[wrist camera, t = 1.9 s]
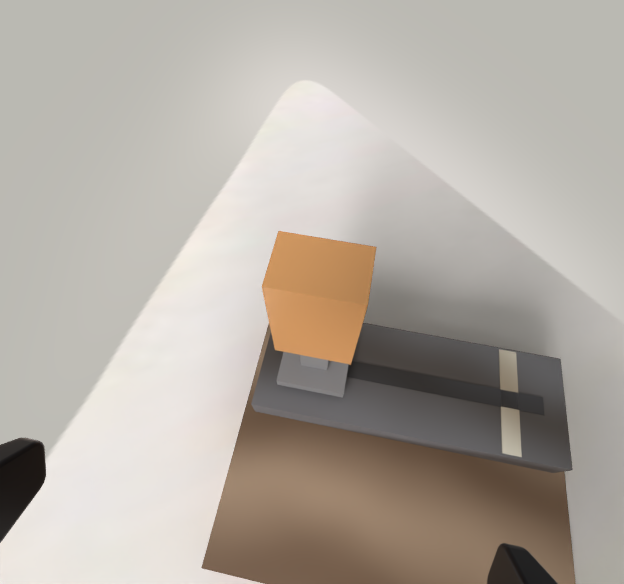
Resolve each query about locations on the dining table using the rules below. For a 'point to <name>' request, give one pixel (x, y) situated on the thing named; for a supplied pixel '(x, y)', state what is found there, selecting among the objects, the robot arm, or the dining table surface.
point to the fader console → (399, 468)
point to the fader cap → (316, 308)
